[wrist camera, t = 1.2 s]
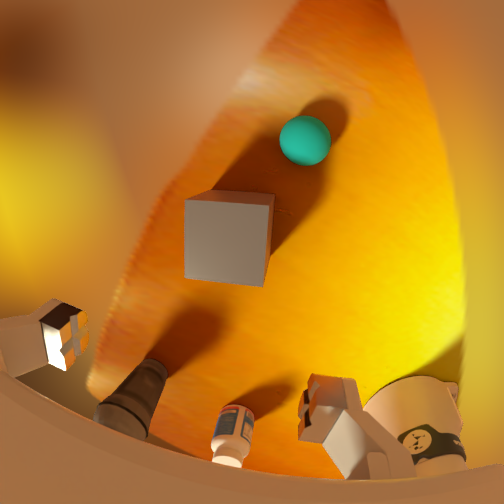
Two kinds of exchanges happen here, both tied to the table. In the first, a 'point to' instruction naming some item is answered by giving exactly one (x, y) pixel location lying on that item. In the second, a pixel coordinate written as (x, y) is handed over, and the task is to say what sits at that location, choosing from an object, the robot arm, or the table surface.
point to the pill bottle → (232, 435)
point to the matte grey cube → (228, 236)
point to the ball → (305, 140)
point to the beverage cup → (134, 401)
